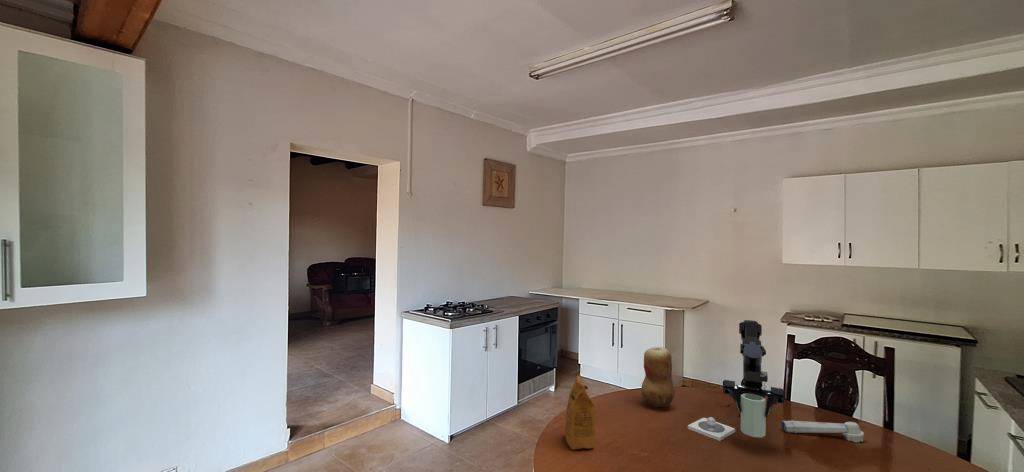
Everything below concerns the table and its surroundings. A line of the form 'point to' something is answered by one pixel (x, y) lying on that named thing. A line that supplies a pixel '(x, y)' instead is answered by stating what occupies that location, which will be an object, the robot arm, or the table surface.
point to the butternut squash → (658, 377)
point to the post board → (711, 428)
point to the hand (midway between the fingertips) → (753, 414)
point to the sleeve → (753, 415)
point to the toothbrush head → (825, 428)
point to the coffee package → (580, 418)
